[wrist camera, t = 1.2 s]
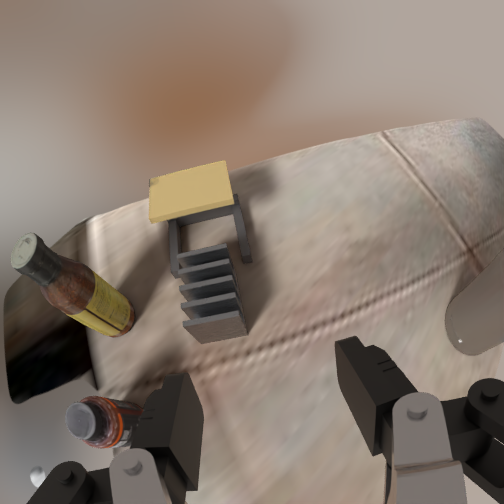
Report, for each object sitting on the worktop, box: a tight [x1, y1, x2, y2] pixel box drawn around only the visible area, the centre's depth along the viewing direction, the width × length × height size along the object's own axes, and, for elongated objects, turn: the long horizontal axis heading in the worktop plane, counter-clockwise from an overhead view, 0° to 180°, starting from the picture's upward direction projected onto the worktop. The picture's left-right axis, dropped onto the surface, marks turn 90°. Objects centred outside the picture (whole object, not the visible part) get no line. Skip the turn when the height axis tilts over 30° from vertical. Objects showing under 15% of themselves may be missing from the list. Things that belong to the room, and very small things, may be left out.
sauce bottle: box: [11, 233, 135, 337], centre depth 32 cm, size 6×6×20 cm
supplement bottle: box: [65, 396, 143, 448], centre depth 27 cm, size 6×6×11 cm
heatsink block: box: [177, 243, 248, 344], centre depth 37 cm, size 6×9×8 cm, turn 11°
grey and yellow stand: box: [149, 160, 252, 278], centre depth 41 cm, size 11×10×10 cm
